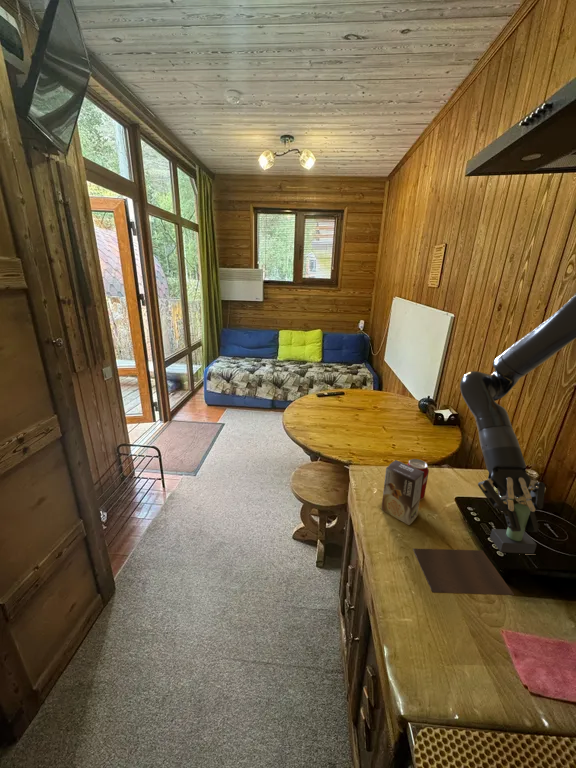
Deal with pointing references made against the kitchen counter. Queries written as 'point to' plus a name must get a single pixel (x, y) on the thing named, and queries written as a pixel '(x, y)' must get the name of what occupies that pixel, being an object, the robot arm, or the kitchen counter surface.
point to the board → (460, 572)
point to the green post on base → (515, 535)
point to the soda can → (423, 467)
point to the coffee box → (402, 491)
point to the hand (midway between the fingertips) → (524, 531)
